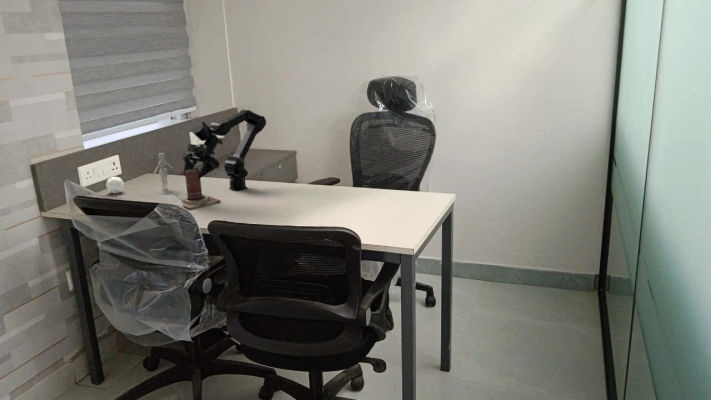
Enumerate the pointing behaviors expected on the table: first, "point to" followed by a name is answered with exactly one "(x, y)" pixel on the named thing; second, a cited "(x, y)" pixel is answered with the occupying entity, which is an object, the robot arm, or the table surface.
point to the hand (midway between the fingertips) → (191, 176)
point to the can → (193, 184)
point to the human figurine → (162, 170)
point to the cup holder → (199, 202)
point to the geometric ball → (115, 185)
